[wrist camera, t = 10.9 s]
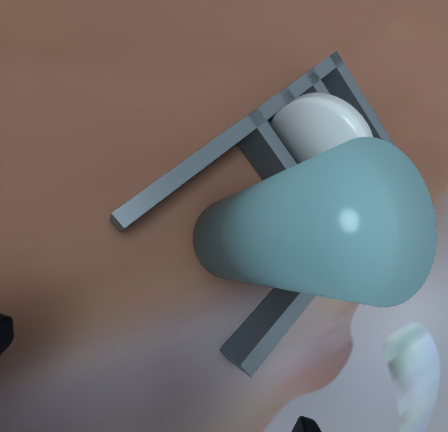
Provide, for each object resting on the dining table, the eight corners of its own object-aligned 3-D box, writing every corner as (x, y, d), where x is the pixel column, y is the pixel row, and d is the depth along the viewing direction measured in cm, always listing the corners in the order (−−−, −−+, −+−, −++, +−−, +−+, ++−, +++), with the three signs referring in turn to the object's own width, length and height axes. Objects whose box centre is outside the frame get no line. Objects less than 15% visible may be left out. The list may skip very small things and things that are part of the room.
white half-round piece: (305, 205, 23) (386, 185, 16) (253, 131, 22) (318, 79, 15) (315, 194, 23) (397, 171, 17) (265, 122, 22) (332, 68, 16)
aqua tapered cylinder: (249, 291, 20) (421, 331, 10) (179, 259, 19) (290, 265, 8) (274, 220, 22) (446, 186, 11) (211, 186, 20) (341, 104, 9)
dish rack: (229, 360, 19) (250, 377, 16) (109, 219, 17) (111, 213, 15) (381, 181, 27) (412, 173, 25) (310, 72, 25) (336, 51, 23)
